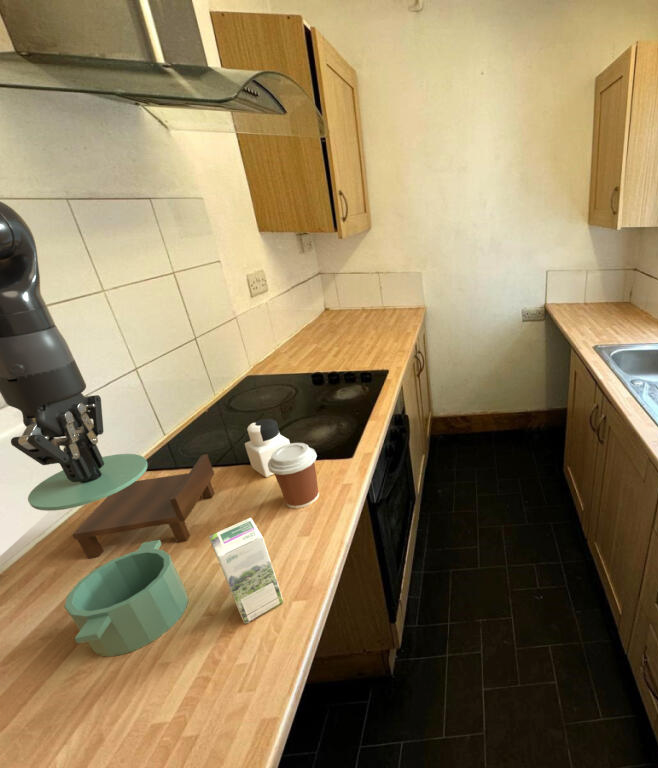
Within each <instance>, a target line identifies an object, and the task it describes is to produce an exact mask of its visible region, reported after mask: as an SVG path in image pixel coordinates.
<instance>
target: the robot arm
mask: <svg viewBox="0 0 658 768" xmlns="http://www.w3.org/2000/svg"><path fill="white" fill-rule="evenodd" d="M40 274H41V273H40V267H39V258H38V249H37V244H36V241H35V237H34V235H33V232H32V230H31V228H30V227H29V225H28V224H27V222H26V221H25V220H24V218H23V217H22V216H21V215H20V214H19V213H18V212H17V211H16V210H15V209H13V208H12V207H11V206H10V205H8V204H6V203H4V202H3V201H0V395H1V397H2V398H3V401H4V402H5V404H6V405H7V406H9V407H11V408H14V409H16V410H19V411H20V412H21V414H22V422H23V425H24V427H26V428H25V429H24V431H23V432H22V434H21V435H19V436H13V437H12V438H11V439H10V445H11V446H13V447H14V448H16V449H17V450H18V451H20V452H22V453H23V454H25V455H26V456H27V457H29V458H30V459H32V460H34V461H35V462H37V463H39V464H40V465H42V466H49V465H55V464H59V465H60V467H61V469H62V471H64V473H65V475H66V476H67V478H68V479H69V480H70V481H72V482H80V481H87V480H88V479H89V478H90V477H91V476H92V475H91V473H90V471H89V469H88V467H87V465H86V463H85V461H84V459H83V457H82V456H80V452H79V450H78V447H77V444H76V443H77V442H86V443H87V445H88V447H89V449H90V451H91V453H92V455H93V457H94V459H95V461H96V463H97V465H98V467H99V469H100V468H101V467H102V466H103V465H104V461H103V459H102V457H103V456H102V454H101V452H100V450H99V448H98V445H97V444H98V442H99V438H98V436H99V435H103V434H104V420H103V419H104V418H103V408H102V398H101V396H100V395H99V394H98V395H97V394H96V395H84V394H83V392H84V391H85V390H86V388H87V383H86V381H85V379H84V377H83V374H82V373H81V370H80V368H79V366H78V364H77V362H76V360H75V358H74V356H73V353H72V350H71V349H70V346H69V344H68V343H67V340H66V339H65V337H64V336H63V334H62V333H61V332H60V330H59V328H58V326H57V325H56V322H55V320H54V318H53V316H52V313H51V312H50V309H49V307H48V305H47V303H46V301H45V300H44V298H43V295H42V292H41V275H40ZM62 446H64V448H65V447H66V449H67V452H64V451H63V449H61V447H62Z"/></svg>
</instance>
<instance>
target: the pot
mask: <svg viewBox="0 0 658 768" xmlns="http://www.w3.org/2000/svg"><path fill="white" fill-rule="evenodd" d="M161 546H162V541H161V539H156V540H149V541H145V542H142V543H141V544H140V546H139V547H138V549H137V550H134V551H131V552H129V553H126V554H122V555H120V556H118V557H115V558H113V559H111V560H109V561H106V562H105V563H103V564H102V565H100V566H98V567H96V568H95V569H93V570H92V571H90V572H89V573H88V574H86V575H85V576H84V577H83V578H81V579H80V580H79V581H78V582H77V583H76V584H75V586H74V587H73V588H72V589H71V590H70V592H69V593H68V594H67V595H66V600H65V604H64V609H65V610H66V612H67V613H68V615H69V617H70V619H72V621H73V623H74V624H75V626H76V628H77V629H78V633H77V634H76V636H75V637H74V640H75V642H76V643H77V644H82V643H87V644H88V646H89V647H90V648H91V649H92V651H93V652H94V653H95V654H96V655H98V656H102V657H117V656H122V655H126V654H129V653H131V652H135V651H137V650H139V649H141V648H144V647H145V646H147V645H149V644H151V643H152V642H154V641H156V640H157V639H159V638H160V637H161V636H163V635H164V634H166V633H167V632H168V631H169V630H170V629H171V628H172V627H173V626H174V625H175V624H176V623H177V622H178V621H179V619H181V617H182V615H183V614H184V612H185V611H186V610H187V609H186V608H187V606H188V603H189V595H188V592H187V589H186V587H185V584H184V583H183V581H182V579H181V576H180V574H179V572H178V570H177V568H176V566H175V563H174V562H173V559H172V556H171V555H170V554H169V553H167V551H165V550H163V549H160V548H161Z"/></svg>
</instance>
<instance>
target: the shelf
mask: <svg viewBox="0 0 658 768" xmlns="http://www.w3.org/2000/svg"><path fill="white" fill-rule="evenodd" d="M214 476H215V471H214V468H213V466H212V463H211V460H210V457H209V455H208V453H205V454H202V455H201V456H200V457H199V458H198V460H197V461H196V463H195V464H194V465H193V467H192V468H191V470H190V471H189V472H188V473H181V474H180V473H179V474H174V475H168V476H160V477H154V478H146V479H140V480H136V481H135V482H134V483H132V484H131V485H129V486H127V487H126V488H124V489H122V490H120V491H118V492H116V493H114V494H112V495H110V496H108V497H105V498H104V500H103V501H102V502H101V503H100V504H99V505H98V506H97V507H96V508H95V509H94V510H93V512H91V513H90V514H89V516H88V517H86V518H85V520H84V521H83V522H82V523H81V524H80V525H79V526H78V527H77V528H76V529H75V530H74V531H73V532H72V533H71V536H72V538H73V540H74V541H76V540H77V542H78V544H79V546H80V548H81V549H82V550H83V553H85V556H86V558H87V559H88V560H89V559H90V560H91V559H95V558H99V557H100V556H101V555H102V554H103V552H104V549H103V547H102V545H101V543H100V542H99V540H98V538H97V537H99V536H104V535H110V534H115V533H121V532H128V531H133V530H139V529H140V530H141V529H146V528H151V527H157V526H163V525H168V526H169V528H170V530H171V532H172V535H173V537H174V539H175V541H176V543H177V544H178V543H183V542H187V541H188V540H189V538H190V537H191V534H190V531H189V529H188V526H187V525H186V520H187V519H188V517H189V516H190V514H191V512H192V511H193V509H194V508H195V506H196V505H197V503H198V501H199V499H200V498H201V497H202V498H203V500H206V499H212V498H213V497H214V495H215V490H214V487H213V485H212V483H211V481H212V479H213V477H214Z"/></svg>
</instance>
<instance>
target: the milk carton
mask: <svg viewBox="0 0 658 768" xmlns="http://www.w3.org/2000/svg"><path fill="white" fill-rule="evenodd" d="M208 538H209V541H210V544H211V546H212V548H213V550H214V553H215V556H216V558H217V561H218V563H219V566H220V567H221V568H220V569H221V571H222V573H223V576H224V579H225V581H226V584H227V586H228V588H229V591H230V593H231V596H232V598H233V601H234V604H235V605H236V608H237V609H238V613H239V615H240V617H241V619H242V621H243V624H244V625H248V624H249V623H251V622H253V621H254V620H257V619H258V618H260V617H261V616H263V615H265V614H266V613H268V612H270V611H271V610H273V609H276V608H277V607H278V606H280V605H282V604H283V603H284V597H283V595H282V592H281V589H280V585H279V582H278V580H277V577H276V574H275V573H276V572H275V571H274V567H273V564H272V561H271V557H270V555H269V551H268V549H267V546H266V542H265V539H264V536H263V535H262V533H261V532H260V530H259V529H258V527H257V525H256V524H255V522H254V520H253V518H252V517H248V518H246V519H244V520H241V521H240V522H237V523H235V524H233V525H231V526H228V527H226V528H224V529H221V530H219V531H217V532H215V533H212V534H211V535H208Z"/></svg>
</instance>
